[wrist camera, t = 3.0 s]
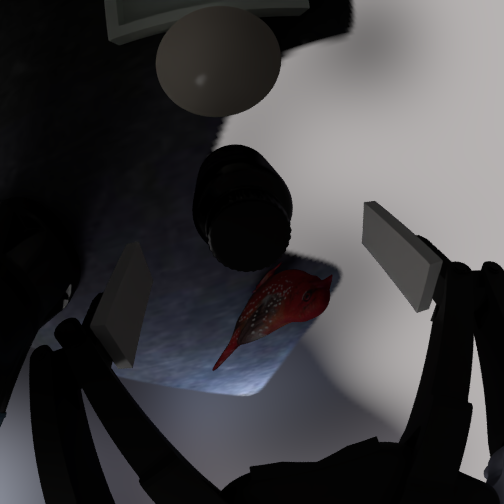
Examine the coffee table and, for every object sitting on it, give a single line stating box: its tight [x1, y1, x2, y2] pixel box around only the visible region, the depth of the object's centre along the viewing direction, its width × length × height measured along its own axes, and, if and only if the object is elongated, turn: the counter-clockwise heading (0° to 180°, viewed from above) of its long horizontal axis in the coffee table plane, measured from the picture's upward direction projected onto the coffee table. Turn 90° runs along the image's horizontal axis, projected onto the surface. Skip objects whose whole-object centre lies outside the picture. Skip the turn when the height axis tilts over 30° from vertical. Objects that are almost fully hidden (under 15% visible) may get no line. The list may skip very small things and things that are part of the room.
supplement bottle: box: [192, 145, 293, 272], centre depth 21 cm, size 7×7×12 cm
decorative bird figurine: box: [213, 262, 332, 371], centre depth 29 cm, size 3×18×10 cm, turn 141°
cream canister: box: [156, 6, 281, 117], centre depth 17 cm, size 7×7×10 cm
